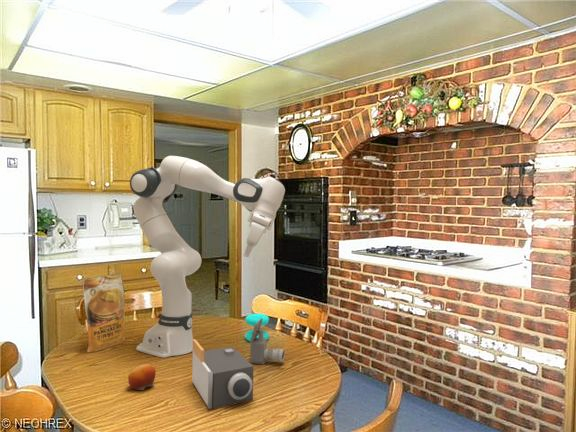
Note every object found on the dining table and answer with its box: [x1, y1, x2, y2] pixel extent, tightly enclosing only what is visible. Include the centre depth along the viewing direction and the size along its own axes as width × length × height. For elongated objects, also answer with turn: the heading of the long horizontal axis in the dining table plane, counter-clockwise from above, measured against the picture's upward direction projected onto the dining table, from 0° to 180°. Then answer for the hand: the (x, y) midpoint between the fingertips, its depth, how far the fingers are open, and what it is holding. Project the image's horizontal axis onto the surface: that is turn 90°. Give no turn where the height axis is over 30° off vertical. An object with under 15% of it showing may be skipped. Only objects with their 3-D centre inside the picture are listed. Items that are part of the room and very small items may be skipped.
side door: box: [191, 338, 213, 410], centre depth 119 cm, size 19×1×14 cm, turn 27°
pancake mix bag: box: [81, 273, 126, 353], centre depth 158 cm, size 7×19×28 cm, turn 149°
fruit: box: [127, 363, 157, 391], centre depth 124 cm, size 8×8×8 cm
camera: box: [249, 318, 286, 365], centre depth 145 cm, size 9×12×15 cm
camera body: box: [204, 346, 254, 409], centre depth 121 cm, size 20×12×11 cm, turn 27°
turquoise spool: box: [244, 313, 270, 342], centre depth 170 cm, size 10×10×10 cm
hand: (245, 256), depth 142 cm, fingers open, 8 cm apart
